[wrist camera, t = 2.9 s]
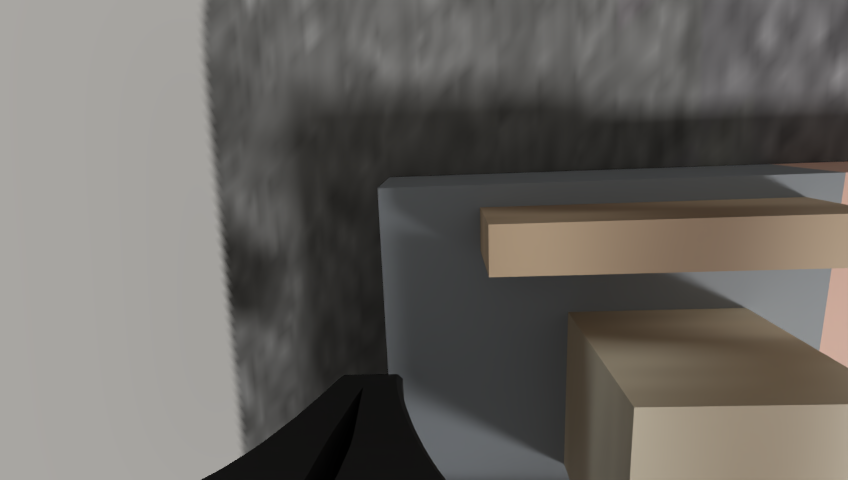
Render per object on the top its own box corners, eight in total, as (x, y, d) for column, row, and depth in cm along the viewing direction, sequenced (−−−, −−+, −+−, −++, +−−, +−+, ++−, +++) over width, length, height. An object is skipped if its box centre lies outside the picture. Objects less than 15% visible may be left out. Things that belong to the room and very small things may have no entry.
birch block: (563, 463, 12) (620, 620, 8) (568, 312, 11) (634, 407, 8) (729, 462, 12) (865, 620, 8) (746, 307, 11) (908, 403, 7)
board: (405, 496, 16) (399, 564, 13) (389, 177, 13) (377, 188, 11) (1165, 490, 15) (1310, 562, 12) (1280, 146, 12) (1487, 150, 10)
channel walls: (484, 548, 13) (492, 623, 11) (479, 207, 11) (487, 224, 9) (759, 547, 13) (818, 624, 11) (806, 196, 11) (888, 212, 9)
